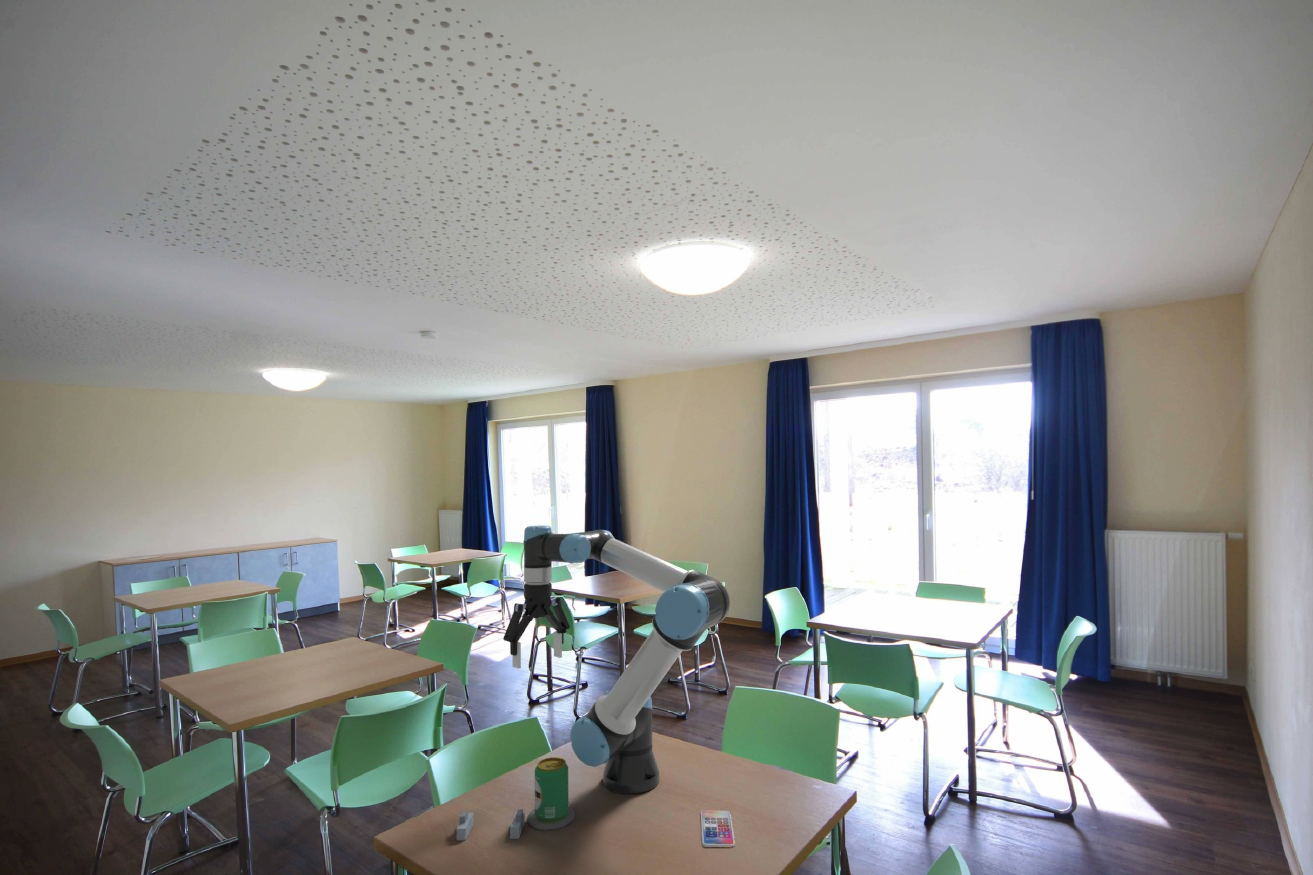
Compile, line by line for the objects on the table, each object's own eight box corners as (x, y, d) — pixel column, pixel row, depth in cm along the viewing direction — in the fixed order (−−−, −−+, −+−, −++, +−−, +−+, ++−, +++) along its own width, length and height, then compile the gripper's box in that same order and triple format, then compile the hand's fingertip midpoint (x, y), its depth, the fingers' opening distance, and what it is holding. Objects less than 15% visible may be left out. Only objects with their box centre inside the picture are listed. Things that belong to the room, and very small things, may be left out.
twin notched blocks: (524, 821, 149) (524, 804, 150) (519, 838, 142) (519, 819, 143) (465, 823, 149) (465, 806, 149) (456, 840, 142) (456, 821, 142)
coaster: (576, 805, 157) (576, 803, 157) (571, 829, 146) (571, 826, 146) (531, 806, 156) (531, 804, 156) (523, 831, 145) (523, 828, 145)
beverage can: (531, 811, 153) (531, 759, 154) (563, 803, 156) (563, 753, 157) (539, 827, 146) (539, 773, 147) (572, 819, 149) (572, 766, 150)
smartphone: (730, 810, 153) (735, 845, 138) (730, 814, 152) (735, 849, 138) (700, 809, 153) (701, 844, 138) (700, 813, 153) (701, 848, 138)
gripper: (565, 576, 185) (565, 650, 183) (490, 586, 166) (489, 669, 165) (581, 578, 179) (582, 654, 178) (506, 589, 161) (506, 674, 160)
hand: (537, 662), depth 171 cm, fingers open, 13 cm apart
